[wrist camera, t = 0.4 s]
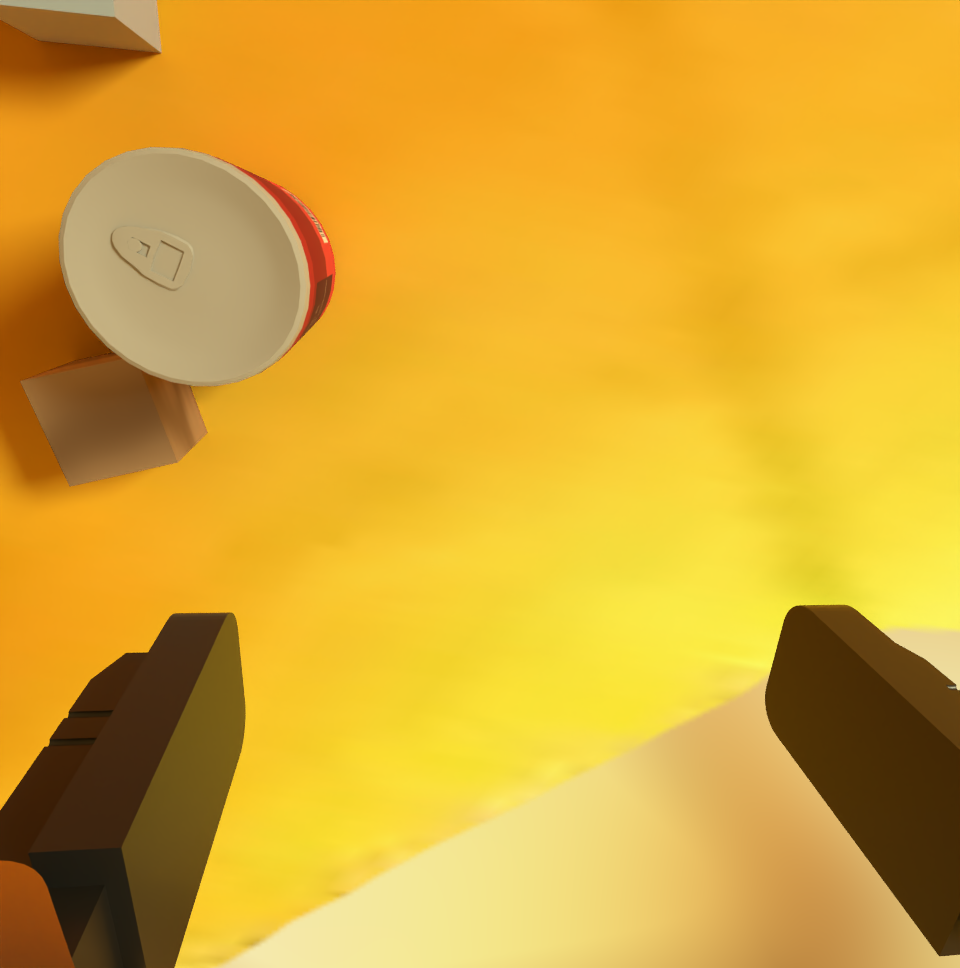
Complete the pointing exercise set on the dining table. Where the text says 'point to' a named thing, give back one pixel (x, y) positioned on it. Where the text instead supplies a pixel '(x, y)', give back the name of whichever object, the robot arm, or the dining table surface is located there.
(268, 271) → the canned food
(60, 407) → the walnut block
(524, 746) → the dining table surface
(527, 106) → the dining table surface
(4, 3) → the light grey cube
